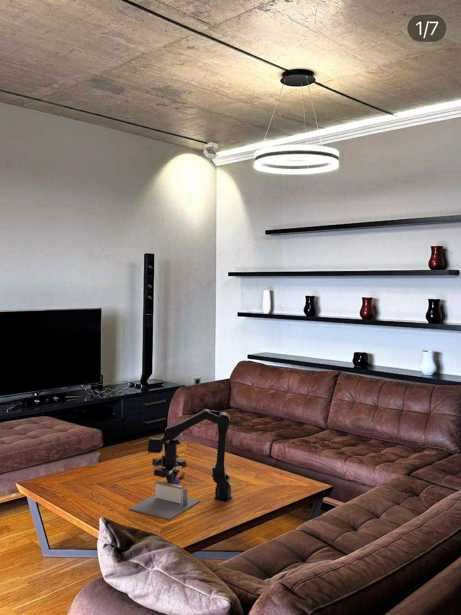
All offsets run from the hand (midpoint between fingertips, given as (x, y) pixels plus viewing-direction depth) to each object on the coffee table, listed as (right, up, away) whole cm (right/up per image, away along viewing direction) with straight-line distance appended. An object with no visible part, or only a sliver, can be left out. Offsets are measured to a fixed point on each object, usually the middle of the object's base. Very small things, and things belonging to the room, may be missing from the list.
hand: (170, 486), depth 276 cm
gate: (0, -4, -6) cm, 8 cm away
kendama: (+1, -5, +20) cm, 20 cm away
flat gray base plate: (-1, -6, -10) cm, 12 cm away
